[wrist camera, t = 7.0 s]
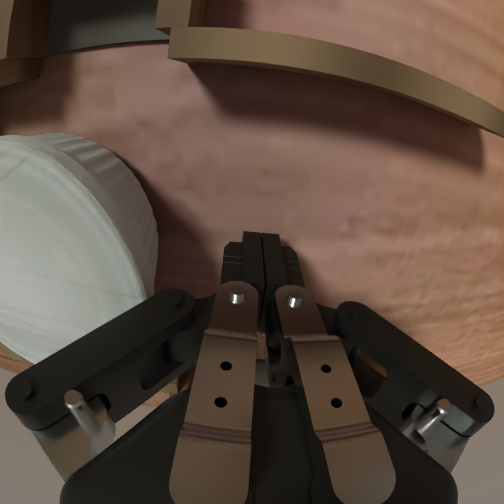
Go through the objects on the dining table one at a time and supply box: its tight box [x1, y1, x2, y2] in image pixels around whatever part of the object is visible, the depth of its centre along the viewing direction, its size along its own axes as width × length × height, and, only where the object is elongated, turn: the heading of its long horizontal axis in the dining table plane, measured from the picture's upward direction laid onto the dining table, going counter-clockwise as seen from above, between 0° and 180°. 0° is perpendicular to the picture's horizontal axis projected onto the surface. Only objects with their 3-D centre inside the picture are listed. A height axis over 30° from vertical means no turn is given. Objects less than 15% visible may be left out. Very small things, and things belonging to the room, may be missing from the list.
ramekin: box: [0, 133, 158, 364], centre depth 11 cm, size 11×11×5 cm
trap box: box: [0, 0, 504, 397], centre depth 12 cm, size 25×25×3 cm
